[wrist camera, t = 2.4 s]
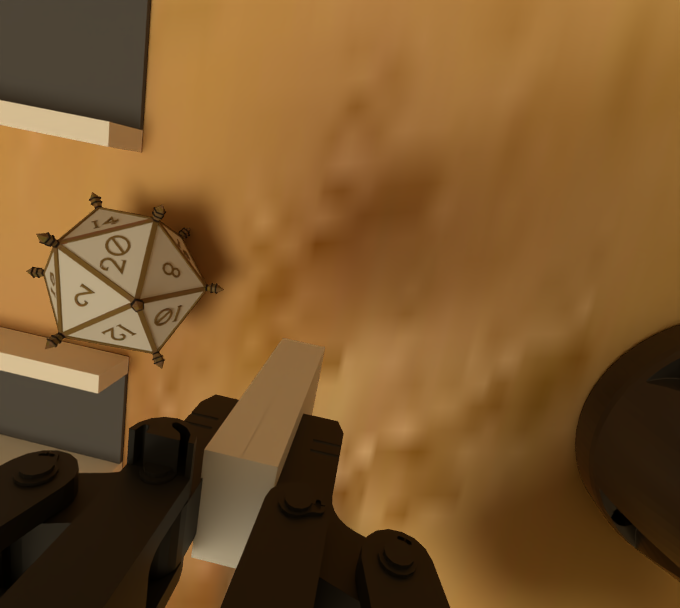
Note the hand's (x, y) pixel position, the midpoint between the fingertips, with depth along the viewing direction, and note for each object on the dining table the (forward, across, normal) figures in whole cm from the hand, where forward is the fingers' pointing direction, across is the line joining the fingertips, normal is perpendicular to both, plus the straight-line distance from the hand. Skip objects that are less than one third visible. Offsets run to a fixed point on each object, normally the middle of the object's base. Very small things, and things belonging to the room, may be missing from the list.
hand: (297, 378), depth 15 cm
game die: (+11, +11, 0) cm, 16 cm away
